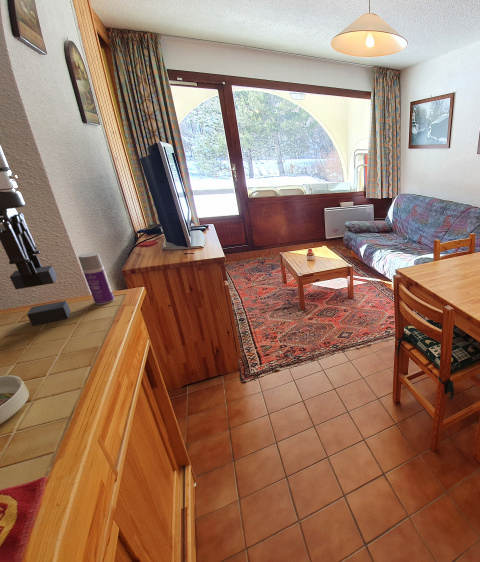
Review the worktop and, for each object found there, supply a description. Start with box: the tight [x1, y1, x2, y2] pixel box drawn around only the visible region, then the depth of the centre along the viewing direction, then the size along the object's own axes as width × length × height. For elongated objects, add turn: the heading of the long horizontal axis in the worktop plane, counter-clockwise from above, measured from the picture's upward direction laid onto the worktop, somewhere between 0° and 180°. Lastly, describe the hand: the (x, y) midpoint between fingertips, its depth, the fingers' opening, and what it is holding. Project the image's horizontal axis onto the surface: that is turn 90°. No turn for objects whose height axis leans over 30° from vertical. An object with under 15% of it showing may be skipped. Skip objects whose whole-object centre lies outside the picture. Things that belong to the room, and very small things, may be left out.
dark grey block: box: [9, 265, 58, 290], centre depth 80 cm, size 7×5×4 cm
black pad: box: [26, 300, 71, 327], centre depth 84 cm, size 7×5×4 cm
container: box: [77, 252, 116, 306], centre depth 92 cm, size 5×5×15 cm
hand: (36, 282), depth 81 cm, fingers closed on dark grey block, 5 cm apart
